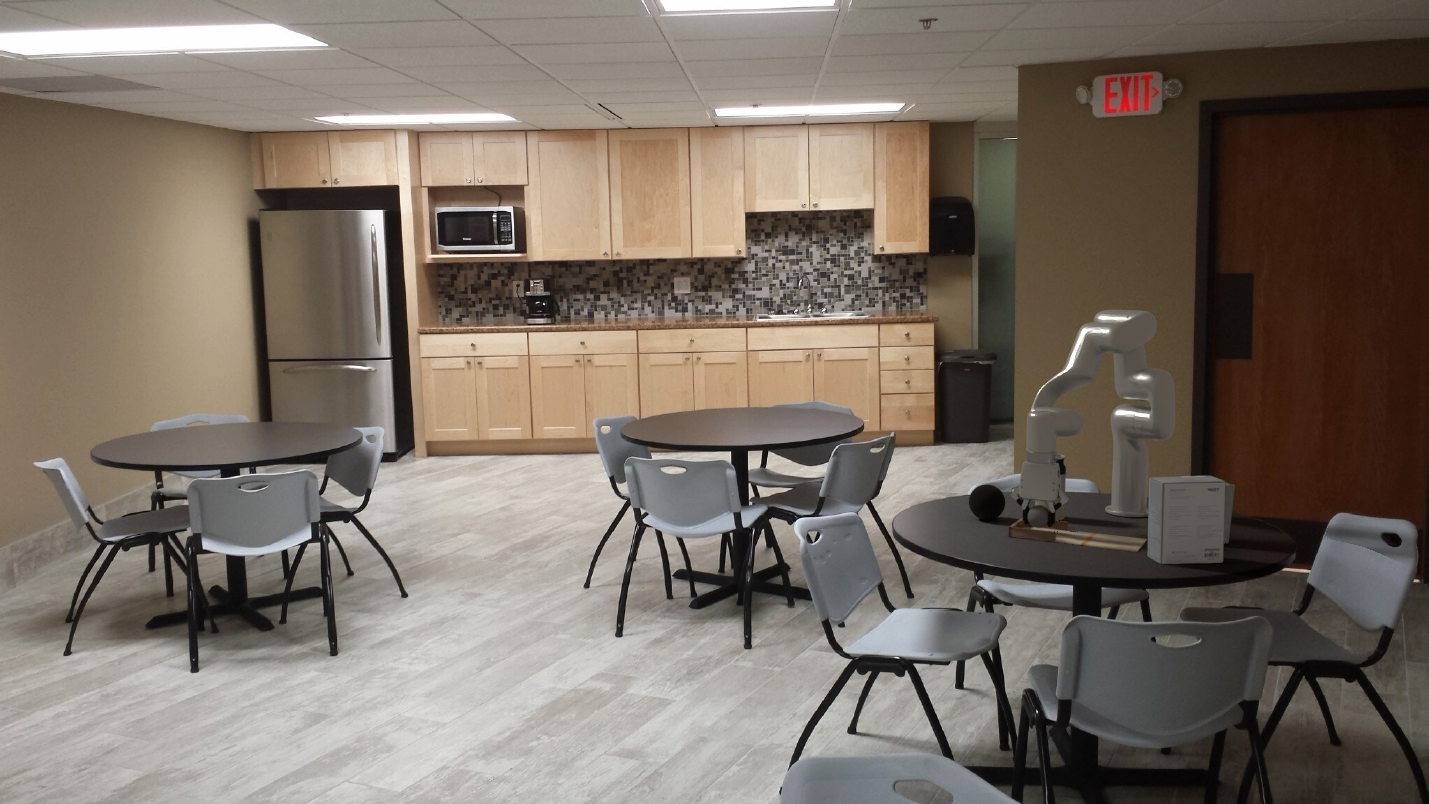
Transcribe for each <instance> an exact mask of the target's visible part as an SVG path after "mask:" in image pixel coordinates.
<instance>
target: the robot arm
mask: <svg viewBox="0 0 1429 804" xmlns="http://www.w3.org/2000/svg"><path fill="white" fill-rule="evenodd" d="M1157 327H1158V322H1157V319H1156V317H1155V315H1154V314H1153V313H1152V312H1150V311H1147V310H1141V309H1139V310H1137V309H1136V310H1135V309H1133V310H1132V309H1129V310H1128V309H1105V310H1101V311H1098V312H1097V313H1096V314H1095V315H1094V317H1093V321H1091V322H1085V324H1083V325H1081V326H1080V328H1079V330H1078V331H1077V333H1076V336H1075V338H1074V340H1073V344H1072V345H1071V349H1070V351H1069V353H1068V356H1067V358H1066V360H1065V362H1064V363H1065V364H1064V366H1063V367H1062V370H1061V371H1059V372H1058V373H1057V374H1055V375H1054V376H1053V377H1051V379H1049V380H1048V381H1047V382H1046V383H1045V384H1044V385H1043V386H1041V388H1040V389H1039V390H1038V392H1037V393H1036V395H1035V398H1034V401H1033V403H1032V406H1031V408H1030V411H1028V414H1027V416H1026V437H1025V439H1026V441H1025V443H1026V444H1025V460H1024V461H1023V462H1022V466H1021V472H1020V479H1019V485H1018V486H1017V487H1016V488H1015V489H1014V490H1013V491H1012V492H1011V494H1010V497H1011V498H1012V499H1013V500H1014V501H1016V503H1017V504H1018V505H1019V507H1020V508H1021V509H1022V517H1023V520H1024V524H1025V525H1027V524H1028V523H1029V521H1028V518H1027V515H1028V511H1029V510H1030V508H1031V507H1030V506H1029V505H1030V503H1031V501H1035V500H1038V501H1047V502H1048V505H1049V509H1050V511H1049V512H1048V527H1052V526H1053V524H1055V515H1056V510H1057V509H1059V508H1060V507H1061V506H1062V505H1064V504H1067V502H1069V501H1070V499H1069V497H1068V496H1067V495H1066V492H1065V493H1064V492H1063V491H1062V490H1061V477H1060V468H1059V463H1055V461H1056V460H1061V455H1062V454H1060V455H1058V454H1059V453H1058V452H1057V437H1059V438H1073V437H1075V436H1077V435H1079V433H1080V432H1081V431H1082V430H1083V427H1084V418H1083V416H1082V415H1081V414H1080V412H1078V411H1076V410H1074V409H1070V408H1063V407H1055V406H1054V405H1055V404H1056V402H1057V401H1058V400H1059V399H1060V398H1061V397H1063V396H1064V395H1066V394H1068V393H1070V392H1072V391H1074V390H1079V389H1080V388H1083V387H1086V386H1088V385H1090V384H1092V382H1094V381H1095V379H1096V375H1097V373H1098V371H1099V369H1100V365H1101V363H1102V360H1103V359H1104V355H1106V354H1107V355H1113V370H1114V388H1115V392H1116V395H1117V396H1118V397H1119V398H1121V399H1123V400H1129V401H1137V402H1147V403H1149V405H1147V404H1139V403H1123V404H1119V405H1117V406H1116V407H1114V409H1113V410H1112V412H1111V414H1110V429H1111V433H1112V440H1113V441H1112V443H1113V445H1112V447H1113V448H1112V450H1113V451H1112V475H1111V476H1112V477H1111V478H1112V479H1111V502H1110V505H1106V506H1105V512H1106V513H1107V514H1110V515H1114V516H1118V517H1125V518H1126V517H1127V518H1144V517H1149V507H1148V506H1147V503H1148V484H1149V483H1148V482H1149V480H1148V478H1149V477H1148V475H1149V457H1150V454H1149V449H1148V446H1147V445H1146V443H1145V440H1150V441H1158V442H1161V441H1162V442H1163V441H1167V440H1169V439H1171V438H1172V436H1173V435H1174V432H1175V428H1176V392H1175V390H1176V389H1175V388H1176V387H1175V382H1174V378H1173V377H1172V374H1171V373H1170V372H1168V370H1165V369H1163V368H1158V367H1157V368H1156V367H1155V368H1154V367H1148V365H1147V354H1146V348H1145V345H1144V344H1146V343H1148V342H1149V341H1151V339H1152V338H1153V337H1154V336H1155V334H1156V332H1157ZM1058 498H1061V501H1060V502H1058V503H1057V504H1056V503H1055V501H1056V500H1057V499H1058Z"/></svg>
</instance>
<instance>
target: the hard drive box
mask: <svg viewBox="0 0 1429 804" xmlns="http://www.w3.org/2000/svg"><path fill="white" fill-rule="evenodd" d="M1148 478H1149V480H1148V482H1149V483H1148V485H1149V487H1148V508H1149V516H1148V520H1147V522H1148V524H1147V525H1148V526H1147V527H1148V530H1147V531H1148V532H1147V558H1150V559H1151V560H1153V561H1155V562H1156V563H1158V564H1159V565H1180V564H1217V563H1219V564H1222V563H1223V562H1224V545H1225V544H1224V519H1225V491H1226V483H1227V482H1226V480H1223V479H1220V478H1218V477H1215V476H1213V475H1185V476H1184V475H1183V476H1179V475H1178V476H1158V477H1157V476H1154V477H1148Z"/></svg>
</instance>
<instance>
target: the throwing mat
mask: <svg viewBox="0 0 1429 804" xmlns="http://www.w3.org/2000/svg"><path fill="white" fill-rule="evenodd" d="M1054 531H1055V532H1054ZM1057 531H1058V532H1057ZM1070 531H1072V530H1071V529H1069V522H1068V521H1066V520H1064V521H1063V520H1060V521H1057V520H1055V524H1053V526H1052V527H1048V525H1047V526H1045V527H1043V528H1036V527H1034V526H1032V525H1031V524H1030V523H1028V524H1027V525H1025V524H1024V520H1023V516H1022V517H1021V518H1020V519H1018V520H1017V521H1015V522H1014V523H1012V524H1011V525H1009V527H1008V537H1009V536H1010V537H1009V538H1014V537H1016V538H1015V539H1022V538H1024V540H1030V539H1032V540H1033V541H1040V542H1047V541H1051V542H1050V543H1056V544H1064V543H1067V545H1072V544H1074V545H1075V546H1081V545H1083V546H1082V547H1091V548H1098V549H1099V548H1100V549H1108V550H1115V551H1123V552H1132V553H1138V552H1139V551H1140V550H1141V548H1142V547H1143V546H1144V545H1145V543H1146V542H1148V538H1142V537H1141V538H1139V537H1132V536H1122V535H1114V534H1105V533H1096V532H1086V531H1081V530H1075V531H1076V532H1070ZM1077 531H1078V532H1077ZM1025 538H1026V539H1025ZM1057 542H1058V543H1057ZM1074 545H1073V546H1074Z"/></svg>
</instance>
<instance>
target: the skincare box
mask: <svg viewBox="0 0 1429 804" xmlns="http://www.w3.org/2000/svg"><path fill="white" fill-rule="evenodd" d="M1235 487H1236V485H1235V484H1233V483H1230V482H1226V491H1225V519H1224V544H1223V545H1225V543H1226V544H1229V542H1230V532H1231V525H1232V515H1233V507H1234V506H1233V505H1234V498H1235V491H1236V489H1235Z"/></svg>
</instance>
